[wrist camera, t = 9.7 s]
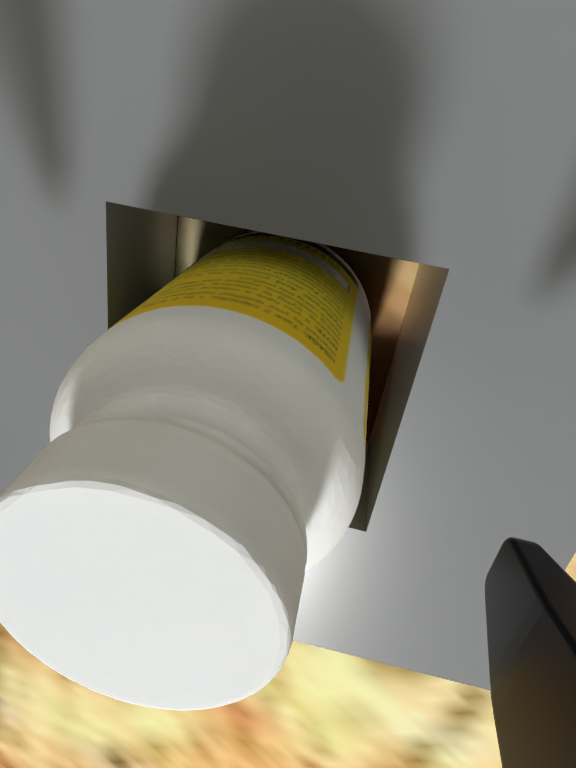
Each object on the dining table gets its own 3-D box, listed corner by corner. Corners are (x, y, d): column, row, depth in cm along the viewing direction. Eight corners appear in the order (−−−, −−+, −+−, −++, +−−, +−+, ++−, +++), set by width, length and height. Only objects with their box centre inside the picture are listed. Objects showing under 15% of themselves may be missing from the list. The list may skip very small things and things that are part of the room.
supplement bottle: (156, 263, 14) (-186, 472, 6) (338, 196, 13) (250, 344, 4) (230, 421, 16) (63, 751, 8) (394, 380, 15) (417, 740, 6)
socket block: (43, 476, 19) (-35, 557, 15) (-12, -80, 11) (-192, -177, 8) (468, 578, 18) (491, 690, 14) (728, 38, 10) (916, -10, 7)
